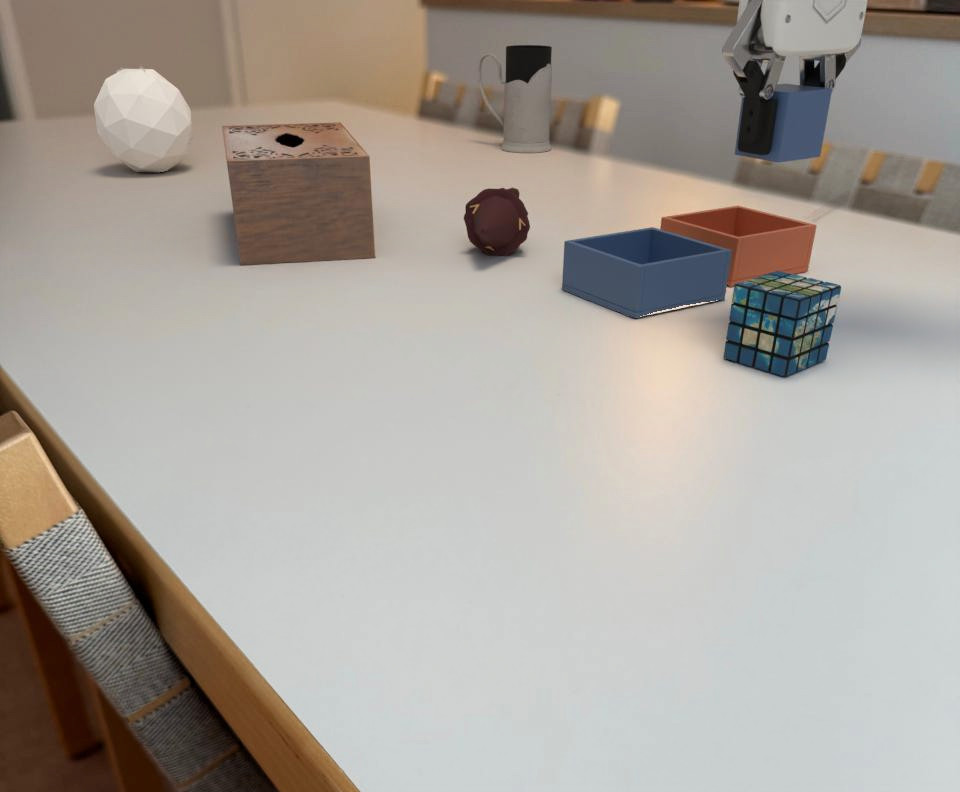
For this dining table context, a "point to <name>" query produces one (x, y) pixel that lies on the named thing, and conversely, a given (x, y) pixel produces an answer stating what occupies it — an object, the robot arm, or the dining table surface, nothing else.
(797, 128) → the blue block
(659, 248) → the blue bin
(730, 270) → the terracotta bin
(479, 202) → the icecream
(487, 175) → the dining table surface
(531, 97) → the glass holder
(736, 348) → the puzzle
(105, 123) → the geodesic sphere
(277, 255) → the tissue box cover
